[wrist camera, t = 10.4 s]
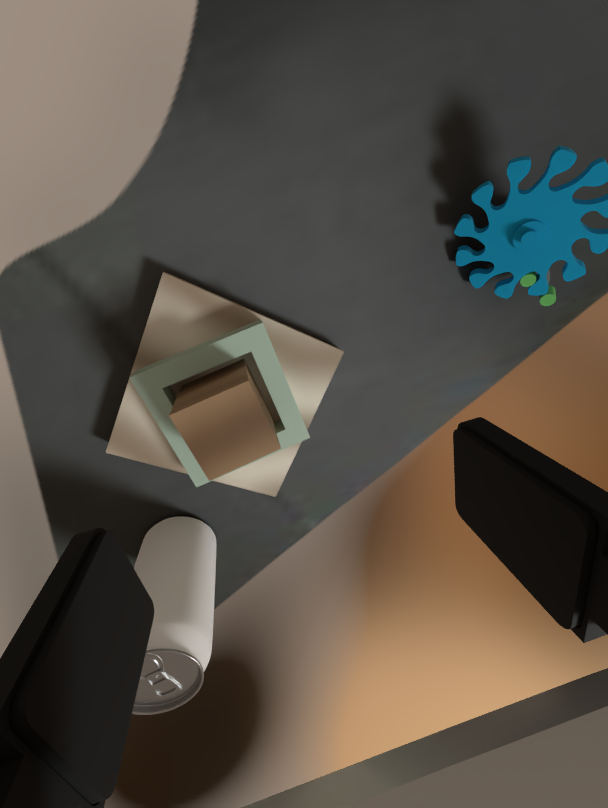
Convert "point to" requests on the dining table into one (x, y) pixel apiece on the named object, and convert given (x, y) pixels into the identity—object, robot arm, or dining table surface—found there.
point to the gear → (534, 227)
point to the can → (176, 611)
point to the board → (197, 323)
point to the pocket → (207, 355)
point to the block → (224, 420)
